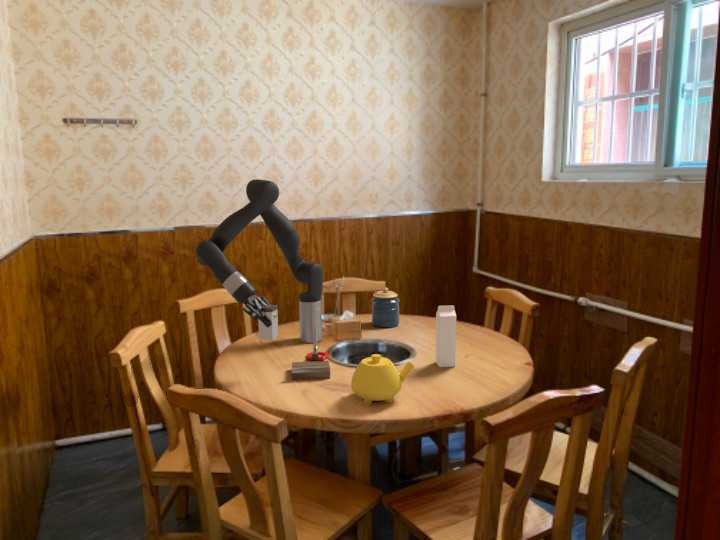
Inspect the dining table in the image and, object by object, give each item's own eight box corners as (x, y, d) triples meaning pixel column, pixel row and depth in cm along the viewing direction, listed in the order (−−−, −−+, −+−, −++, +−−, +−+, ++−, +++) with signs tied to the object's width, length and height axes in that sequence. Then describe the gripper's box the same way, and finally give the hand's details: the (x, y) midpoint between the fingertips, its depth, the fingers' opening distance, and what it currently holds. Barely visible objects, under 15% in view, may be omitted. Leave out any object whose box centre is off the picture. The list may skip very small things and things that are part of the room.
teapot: (408, 385, 180) (408, 345, 177) (421, 404, 165) (421, 361, 162) (348, 390, 177) (347, 349, 175) (355, 409, 162) (354, 365, 159)
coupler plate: (292, 369, 197) (292, 358, 196) (328, 367, 198) (328, 356, 197) (292, 380, 186) (291, 368, 185) (330, 378, 187) (330, 367, 186)
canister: (386, 319, 265) (386, 283, 262) (405, 324, 255) (405, 287, 252) (365, 324, 256) (365, 287, 253) (384, 330, 246) (384, 291, 244)
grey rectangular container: (258, 339, 186) (257, 308, 185) (264, 335, 191) (263, 304, 189) (273, 340, 185) (272, 308, 183) (279, 336, 190) (278, 305, 188)
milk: (435, 362, 203) (435, 304, 199) (451, 361, 203) (452, 303, 200) (439, 367, 197) (439, 307, 193) (455, 366, 197) (456, 307, 194)
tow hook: (309, 354, 215) (304, 360, 206) (309, 321, 214) (303, 327, 204) (330, 355, 214) (325, 361, 205) (330, 322, 212) (325, 327, 203)
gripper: (236, 284, 180) (272, 321, 179) (255, 276, 194) (288, 311, 193) (222, 299, 182) (257, 336, 181) (242, 290, 196) (274, 325, 195)
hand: (273, 323), depth 187 cm, fingers closed on grey rectangular container, 5 cm apart
